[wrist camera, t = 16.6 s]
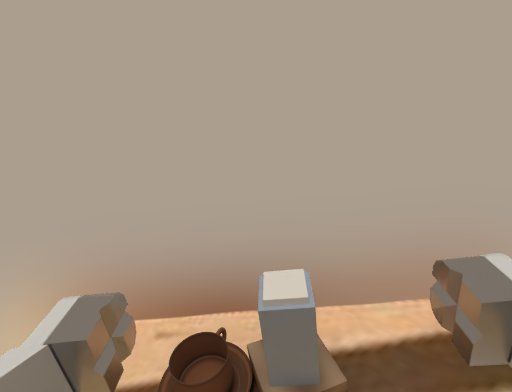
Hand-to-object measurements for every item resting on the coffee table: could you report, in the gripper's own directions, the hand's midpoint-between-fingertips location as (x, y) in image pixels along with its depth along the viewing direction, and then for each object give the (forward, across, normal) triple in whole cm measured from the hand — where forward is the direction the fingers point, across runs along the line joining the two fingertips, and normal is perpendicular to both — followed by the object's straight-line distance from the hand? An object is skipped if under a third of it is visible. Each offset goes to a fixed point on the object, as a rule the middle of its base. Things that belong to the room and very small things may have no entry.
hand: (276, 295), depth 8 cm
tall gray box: (+19, 0, +27) cm, 33 cm away
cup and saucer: (+20, +11, +32) cm, 40 cm away
